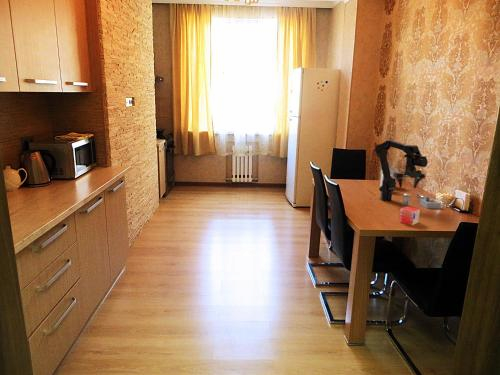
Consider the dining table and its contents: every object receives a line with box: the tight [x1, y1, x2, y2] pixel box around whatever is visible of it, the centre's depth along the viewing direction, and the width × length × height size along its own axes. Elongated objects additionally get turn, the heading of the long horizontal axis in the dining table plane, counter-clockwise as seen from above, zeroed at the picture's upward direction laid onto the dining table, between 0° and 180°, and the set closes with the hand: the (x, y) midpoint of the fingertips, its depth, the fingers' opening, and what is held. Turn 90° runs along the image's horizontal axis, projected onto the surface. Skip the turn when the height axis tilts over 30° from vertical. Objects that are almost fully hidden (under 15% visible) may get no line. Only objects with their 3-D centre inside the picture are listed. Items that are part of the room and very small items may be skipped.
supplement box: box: [379, 173, 392, 188], centre depth 283 cm, size 7×7×13 cm
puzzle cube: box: [398, 206, 421, 226], centre depth 207 cm, size 8×8×8 cm
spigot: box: [401, 193, 412, 207], centre depth 241 cm, size 5×5×8 cm
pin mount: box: [417, 195, 431, 203], centre depth 250 cm, size 5×5×4 cm
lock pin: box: [415, 192, 427, 200], centre depth 253 cm, size 3×11×3 cm, turn 0°
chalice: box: [380, 167, 400, 179], centre depth 297 cm, size 14×14×15 cm
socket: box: [419, 198, 442, 209], centre depth 242 cm, size 9×12×4 cm
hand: (407, 188), depth 240 cm, fingers open, 9 cm apart
